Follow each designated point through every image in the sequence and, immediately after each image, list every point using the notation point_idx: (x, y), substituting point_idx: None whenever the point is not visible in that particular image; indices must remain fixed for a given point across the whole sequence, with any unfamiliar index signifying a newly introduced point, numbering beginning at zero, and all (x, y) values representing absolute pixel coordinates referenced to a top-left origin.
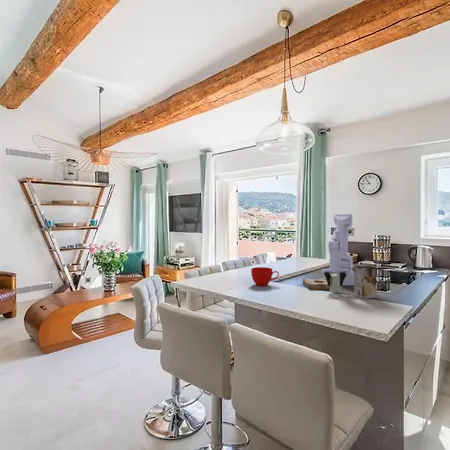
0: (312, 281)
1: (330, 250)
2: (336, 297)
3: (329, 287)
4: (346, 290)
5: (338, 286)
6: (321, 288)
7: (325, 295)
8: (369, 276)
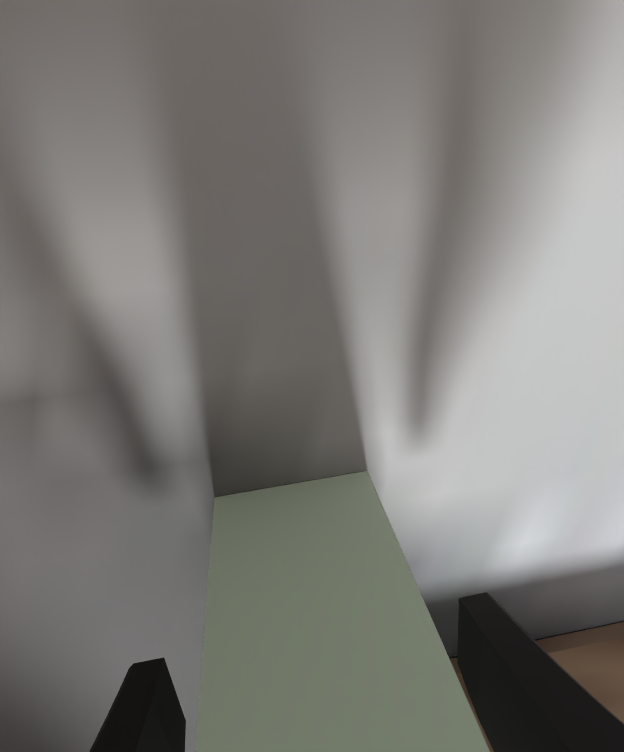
0: None
1: None
2: (406, 10)
3: None
4: (48, 681)
5: (245, 605)
6: None
7: (600, 219)
8: None
